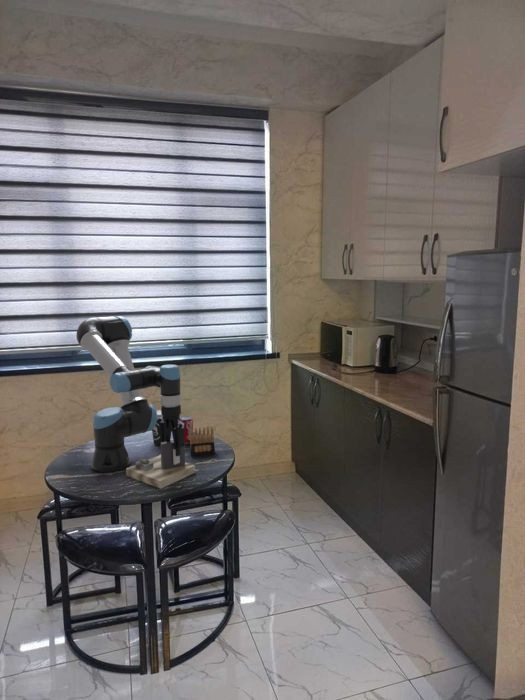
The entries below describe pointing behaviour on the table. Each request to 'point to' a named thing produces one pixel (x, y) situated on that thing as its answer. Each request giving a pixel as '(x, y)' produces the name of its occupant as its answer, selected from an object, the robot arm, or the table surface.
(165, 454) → the dark grey block
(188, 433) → the soda can
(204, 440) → the ammunition clip
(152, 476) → the instrument base
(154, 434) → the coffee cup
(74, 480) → the table surface
